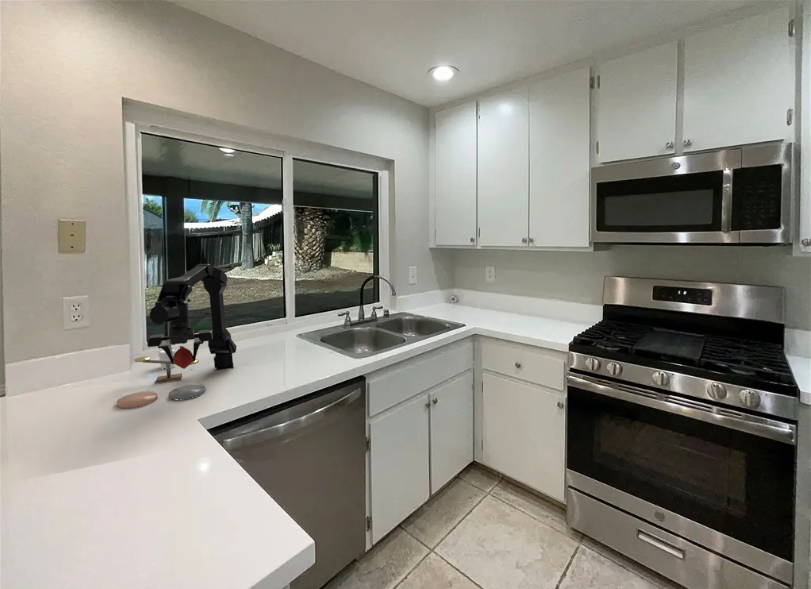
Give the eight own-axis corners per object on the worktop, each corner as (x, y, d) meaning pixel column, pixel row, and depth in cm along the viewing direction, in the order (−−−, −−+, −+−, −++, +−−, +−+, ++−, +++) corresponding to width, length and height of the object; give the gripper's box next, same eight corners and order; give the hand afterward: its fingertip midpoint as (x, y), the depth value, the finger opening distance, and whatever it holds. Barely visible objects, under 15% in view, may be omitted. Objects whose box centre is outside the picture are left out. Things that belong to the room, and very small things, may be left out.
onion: (188, 364, 137) (186, 342, 136) (197, 367, 134) (195, 344, 133) (171, 369, 132) (168, 346, 131) (179, 372, 129) (177, 349, 128)
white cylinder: (170, 370, 159) (168, 353, 158) (155, 369, 160) (153, 352, 159) (182, 364, 166) (181, 348, 164) (168, 363, 167) (167, 347, 166)
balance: (200, 373, 154) (198, 350, 153) (199, 377, 150) (197, 353, 148) (138, 381, 146) (135, 357, 145) (135, 386, 141) (132, 361, 140)
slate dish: (206, 385, 142) (206, 382, 141) (205, 396, 132) (204, 393, 131) (171, 390, 137) (171, 387, 137) (167, 402, 127) (166, 399, 127)
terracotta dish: (159, 392, 136) (159, 389, 135) (154, 404, 126) (154, 401, 125) (121, 398, 131) (121, 394, 131) (112, 411, 121) (112, 407, 121)
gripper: (141, 325, 120) (146, 374, 122) (209, 319, 127) (213, 365, 129) (148, 318, 130) (153, 363, 132) (210, 313, 137) (214, 356, 139)
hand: (183, 362), depth 133 cm, fingers closed on onion, 6 cm apart
